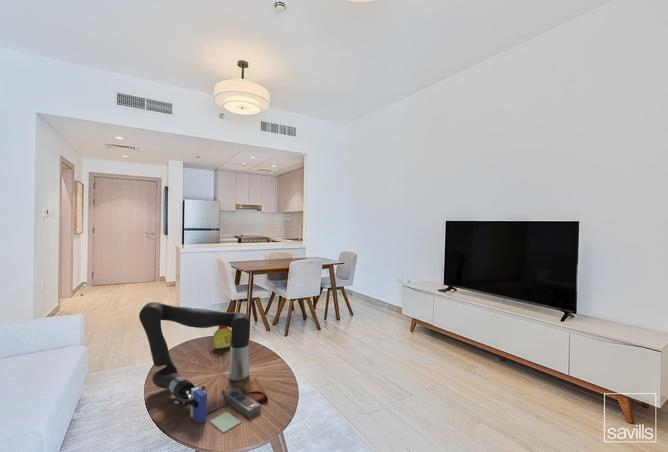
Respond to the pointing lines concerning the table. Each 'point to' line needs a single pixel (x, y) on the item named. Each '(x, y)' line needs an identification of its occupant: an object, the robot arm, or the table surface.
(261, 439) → the table surface
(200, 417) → the walkman
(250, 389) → the sunglasses case
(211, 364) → the table surface
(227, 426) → the mat
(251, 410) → the power strip
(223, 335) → the bottle
